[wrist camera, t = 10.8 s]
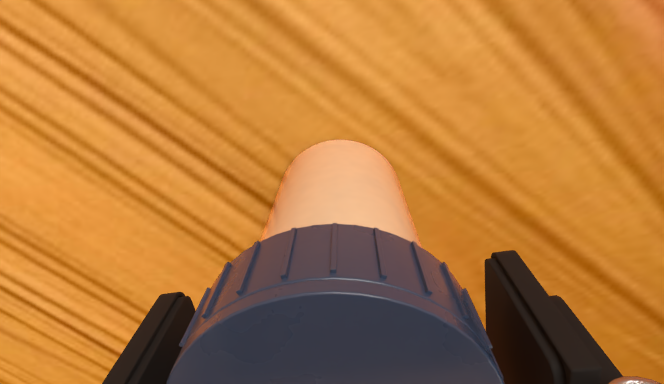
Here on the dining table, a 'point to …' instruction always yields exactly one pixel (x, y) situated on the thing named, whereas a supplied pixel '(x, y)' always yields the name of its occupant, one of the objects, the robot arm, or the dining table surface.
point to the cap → (335, 316)
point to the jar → (341, 191)
